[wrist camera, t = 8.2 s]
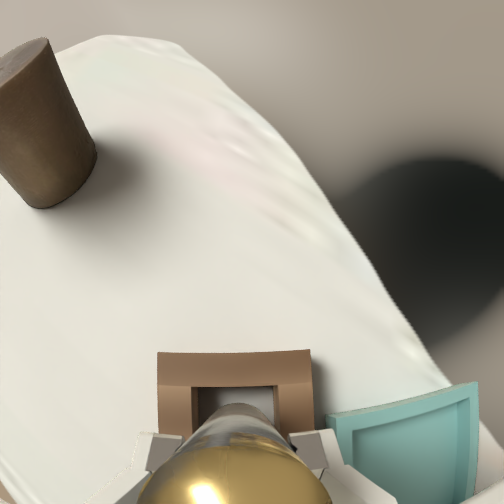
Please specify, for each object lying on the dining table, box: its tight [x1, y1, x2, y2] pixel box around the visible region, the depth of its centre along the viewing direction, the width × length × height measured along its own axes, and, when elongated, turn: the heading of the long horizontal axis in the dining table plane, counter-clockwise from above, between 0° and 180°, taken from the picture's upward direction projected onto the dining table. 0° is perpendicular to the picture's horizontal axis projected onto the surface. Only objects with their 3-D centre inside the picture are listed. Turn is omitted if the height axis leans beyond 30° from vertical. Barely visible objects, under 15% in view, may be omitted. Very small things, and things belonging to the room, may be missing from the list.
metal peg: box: [137, 403, 333, 504], centre depth 9 cm, size 4×4×12 cm
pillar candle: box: [0, 38, 97, 208], centre depth 19 cm, size 10×10×15 cm
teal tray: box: [325, 382, 479, 504], centre depth 15 cm, size 12×12×2 cm
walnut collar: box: [157, 349, 315, 444], centre depth 16 cm, size 9×9×3 cm
